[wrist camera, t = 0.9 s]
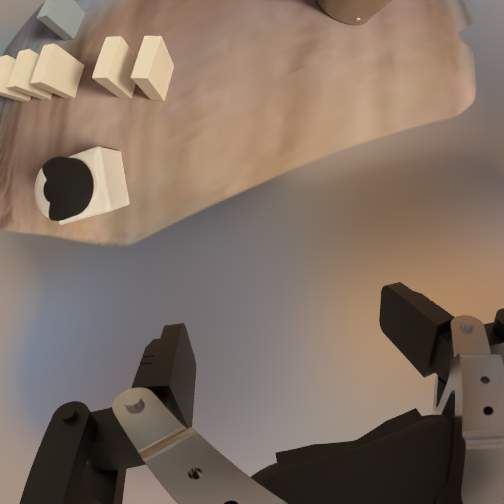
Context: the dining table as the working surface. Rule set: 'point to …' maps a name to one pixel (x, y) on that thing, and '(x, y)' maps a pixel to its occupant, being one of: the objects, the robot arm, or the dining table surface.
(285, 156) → the dining table surface
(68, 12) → the domino
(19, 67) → the domino
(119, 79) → the domino
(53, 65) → the domino
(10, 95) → the domino
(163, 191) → the dining table surface
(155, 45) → the domino
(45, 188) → the medicine bottle
